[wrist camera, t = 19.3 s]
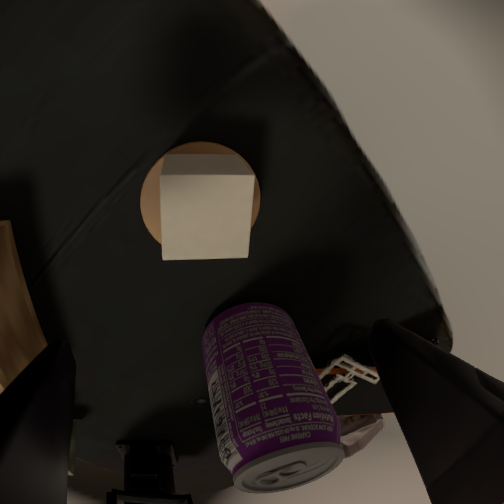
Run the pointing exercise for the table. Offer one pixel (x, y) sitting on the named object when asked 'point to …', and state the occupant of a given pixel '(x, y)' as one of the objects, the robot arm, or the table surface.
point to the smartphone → (357, 394)
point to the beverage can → (268, 401)
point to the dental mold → (359, 431)
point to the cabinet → (15, 313)
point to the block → (205, 206)
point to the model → (347, 374)
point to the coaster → (152, 184)
